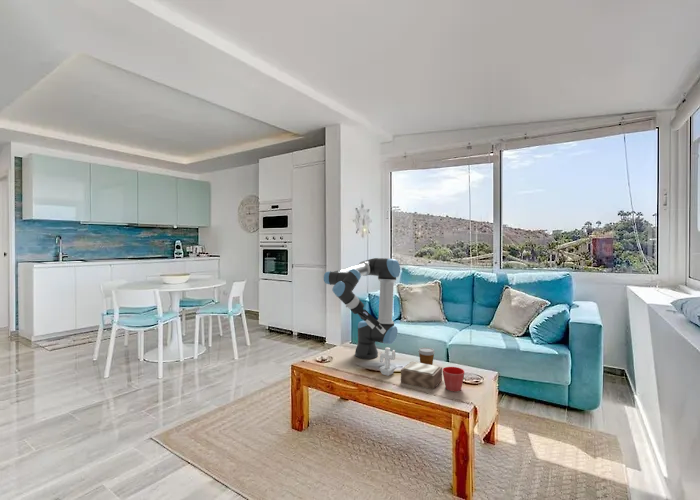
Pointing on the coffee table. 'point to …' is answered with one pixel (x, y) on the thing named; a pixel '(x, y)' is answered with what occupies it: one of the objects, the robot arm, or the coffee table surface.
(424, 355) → the disposable coffee cup
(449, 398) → the coffee table surface
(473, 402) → the coffee table surface
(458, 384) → the flower pot
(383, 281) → the robot arm
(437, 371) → the chevron patterned box
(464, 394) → the coffee table surface
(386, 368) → the figurine
